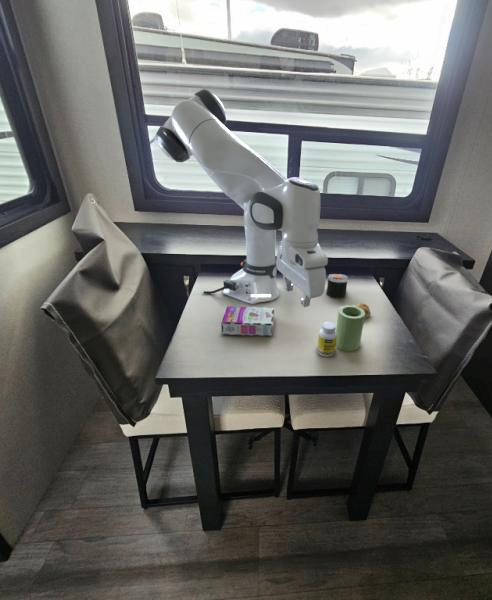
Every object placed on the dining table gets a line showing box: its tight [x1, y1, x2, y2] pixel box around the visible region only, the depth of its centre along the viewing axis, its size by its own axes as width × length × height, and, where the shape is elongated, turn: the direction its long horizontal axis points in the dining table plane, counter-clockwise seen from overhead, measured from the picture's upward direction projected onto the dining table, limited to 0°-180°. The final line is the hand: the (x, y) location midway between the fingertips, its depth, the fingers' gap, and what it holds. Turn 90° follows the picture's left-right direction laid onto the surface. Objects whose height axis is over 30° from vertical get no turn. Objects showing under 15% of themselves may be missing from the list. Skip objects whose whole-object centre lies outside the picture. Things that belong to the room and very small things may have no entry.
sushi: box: [326, 273, 349, 299], centre depth 131 cm, size 8×8×8 cm
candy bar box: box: [220, 305, 275, 337], centre depth 106 cm, size 11×5×16 cm
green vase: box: [335, 304, 366, 352], centre depth 99 cm, size 8×8×12 cm
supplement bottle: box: [317, 321, 337, 357], centre depth 95 cm, size 5×5×10 cm
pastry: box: [354, 302, 372, 318], centre depth 117 cm, size 9×7×4 cm
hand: (296, 297), depth 85 cm, fingers open, 8 cm apart
